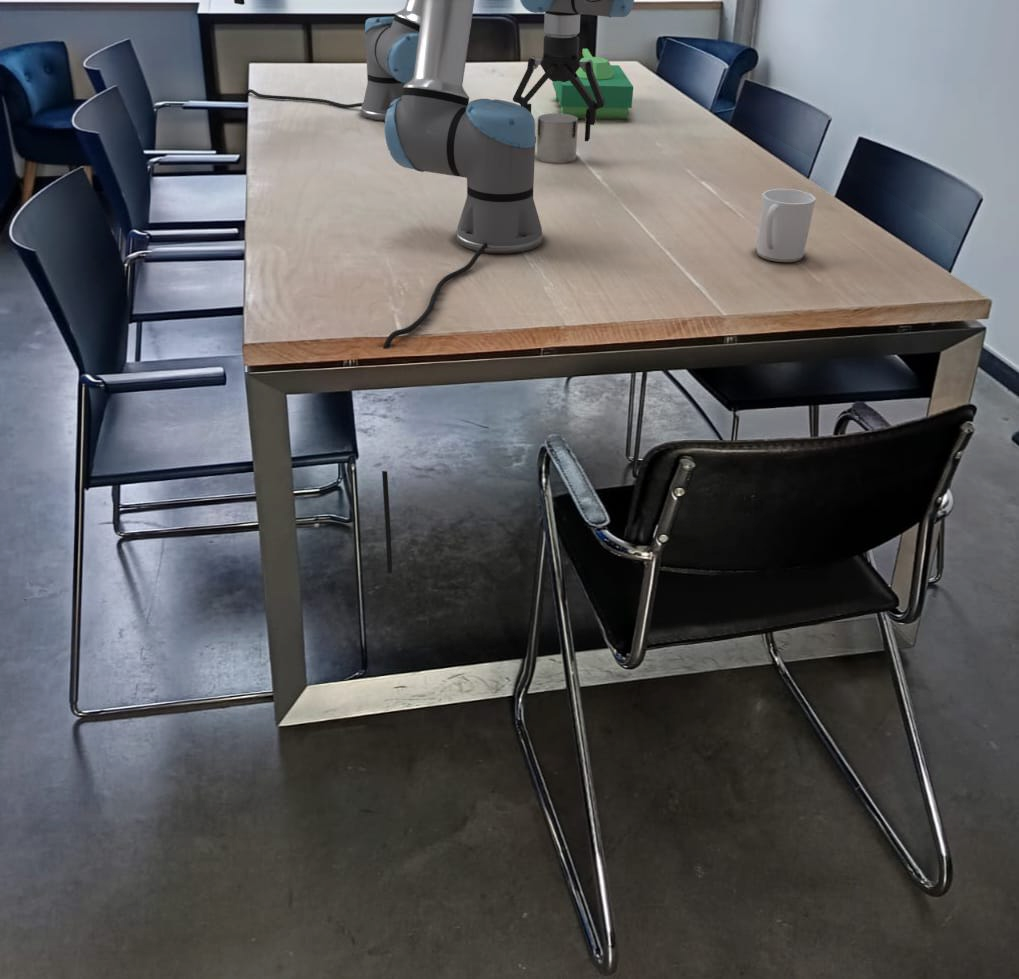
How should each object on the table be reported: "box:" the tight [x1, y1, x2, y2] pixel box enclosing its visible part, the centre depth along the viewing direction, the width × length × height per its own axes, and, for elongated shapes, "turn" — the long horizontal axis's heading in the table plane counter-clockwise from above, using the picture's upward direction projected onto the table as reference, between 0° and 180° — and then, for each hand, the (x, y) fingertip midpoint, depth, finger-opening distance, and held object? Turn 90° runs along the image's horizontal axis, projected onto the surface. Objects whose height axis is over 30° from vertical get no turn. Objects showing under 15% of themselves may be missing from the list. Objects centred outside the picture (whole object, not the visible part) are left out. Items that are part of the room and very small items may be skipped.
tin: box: [536, 112, 579, 164], centre depth 242 cm, size 9×9×9 cm
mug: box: [756, 188, 816, 263], centre depth 188 cm, size 11×9×10 cm
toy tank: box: [552, 48, 634, 120], centre depth 286 cm, size 18×12×35 cm
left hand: (265, 1), depth 240 cm, fingers open, 13 cm apart
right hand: (557, 137), depth 242 cm, fingers open, 13 cm apart
